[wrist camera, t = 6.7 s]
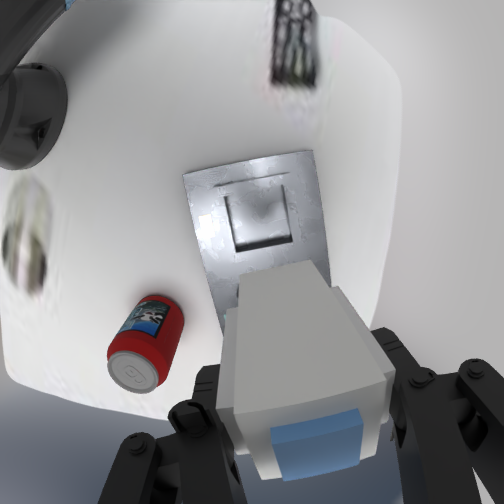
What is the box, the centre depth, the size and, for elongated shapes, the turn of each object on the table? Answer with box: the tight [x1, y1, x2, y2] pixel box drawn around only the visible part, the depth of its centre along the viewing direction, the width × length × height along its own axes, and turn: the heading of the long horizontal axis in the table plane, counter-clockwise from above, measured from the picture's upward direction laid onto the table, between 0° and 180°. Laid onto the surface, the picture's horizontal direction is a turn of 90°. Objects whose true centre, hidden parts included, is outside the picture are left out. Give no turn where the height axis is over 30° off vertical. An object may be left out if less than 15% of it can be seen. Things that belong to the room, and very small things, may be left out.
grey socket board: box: [182, 150, 331, 337], centre depth 33 cm, size 24×14×4 cm, turn 11°
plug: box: [234, 260, 387, 481], centre depth 11 cm, size 4×4×11 cm
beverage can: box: [107, 296, 184, 394], centre depth 30 cm, size 7×7×12 cm
